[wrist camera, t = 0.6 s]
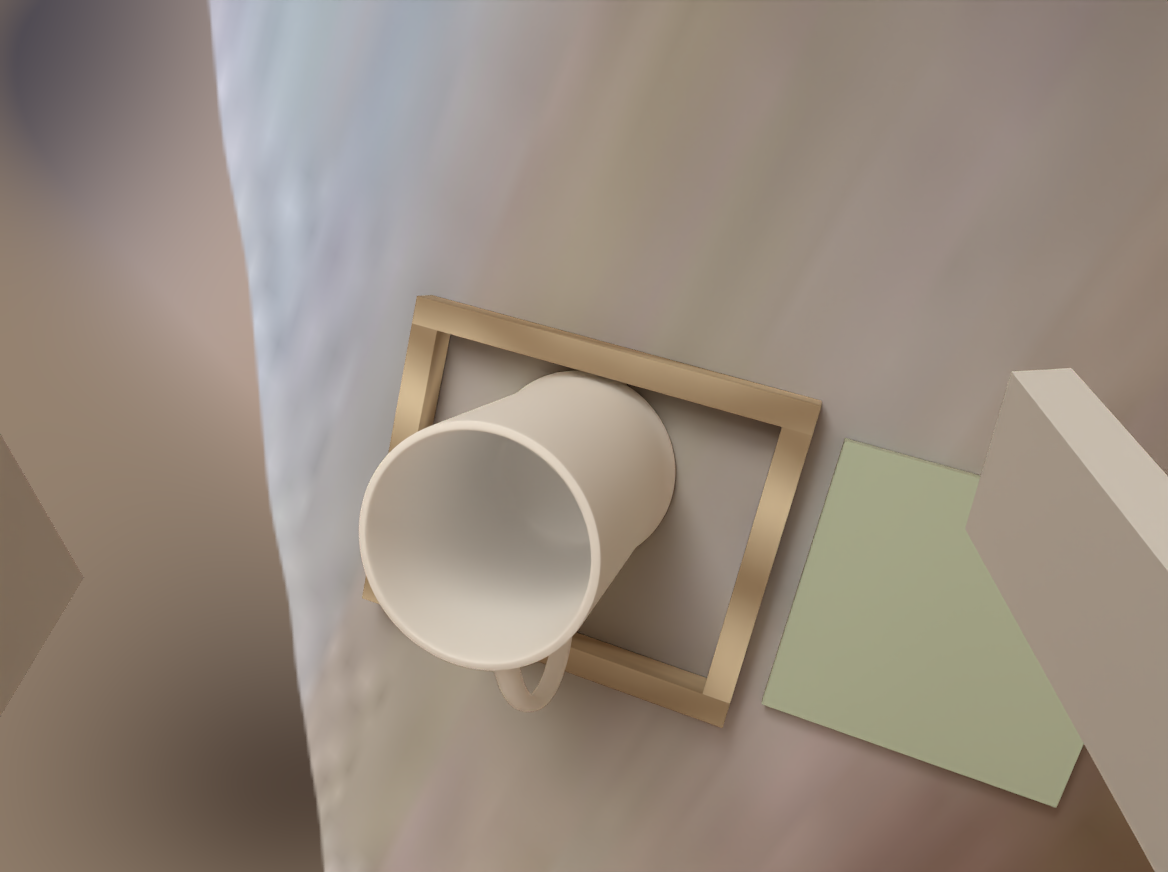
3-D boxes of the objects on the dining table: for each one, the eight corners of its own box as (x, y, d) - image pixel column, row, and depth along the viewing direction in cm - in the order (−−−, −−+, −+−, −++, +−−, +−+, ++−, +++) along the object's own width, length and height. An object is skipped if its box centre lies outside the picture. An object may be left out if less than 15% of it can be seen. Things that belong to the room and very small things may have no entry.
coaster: (845, 437, 34) (845, 440, 34) (1168, 527, 32) (1173, 532, 31) (762, 697, 37) (761, 704, 37) (1052, 799, 35) (1056, 807, 34)
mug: (667, 639, 38) (600, 795, 27) (488, 614, 40) (355, 748, 29) (681, 376, 36) (613, 423, 24) (490, 364, 38) (346, 402, 27)
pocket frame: (432, 295, 38) (417, 295, 37) (821, 400, 34) (821, 406, 33) (378, 586, 42) (362, 597, 40) (726, 711, 38) (722, 728, 36)
